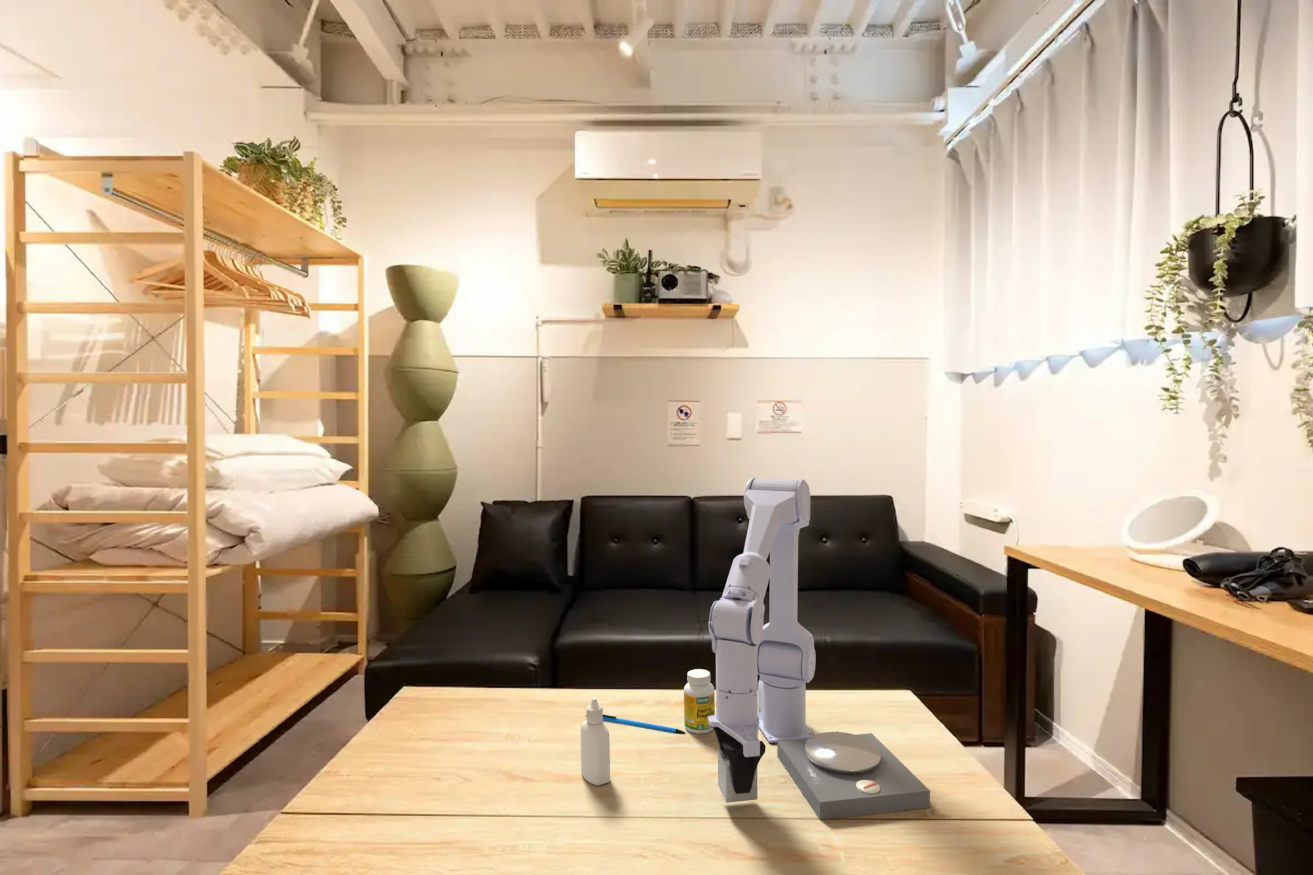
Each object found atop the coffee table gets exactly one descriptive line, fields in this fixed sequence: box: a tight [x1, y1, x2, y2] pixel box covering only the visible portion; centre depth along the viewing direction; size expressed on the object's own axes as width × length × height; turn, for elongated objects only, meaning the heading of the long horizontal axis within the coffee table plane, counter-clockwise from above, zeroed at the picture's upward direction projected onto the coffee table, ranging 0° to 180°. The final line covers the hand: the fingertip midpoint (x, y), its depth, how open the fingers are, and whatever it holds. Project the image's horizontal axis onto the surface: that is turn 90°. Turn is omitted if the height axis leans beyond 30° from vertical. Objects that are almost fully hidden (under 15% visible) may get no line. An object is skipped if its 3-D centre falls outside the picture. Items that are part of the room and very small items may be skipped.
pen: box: [585, 714, 686, 735], centre depth 119 cm, size 1×19×1 cm, turn 68°
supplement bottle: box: [683, 668, 716, 735], centre depth 117 cm, size 5×5×10 cm
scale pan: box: [805, 731, 881, 773], centre depth 102 cm, size 11×11×1 cm
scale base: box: [776, 732, 931, 821], centre depth 100 cm, size 17×16×3 cm
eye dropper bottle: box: [580, 697, 611, 787], centre depth 101 cm, size 4×6×12 cm
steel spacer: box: [717, 749, 758, 804], centre depth 94 cm, size 4×4×5 cm
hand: (737, 781), depth 94 cm, fingers closed on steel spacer, 4 cm apart
